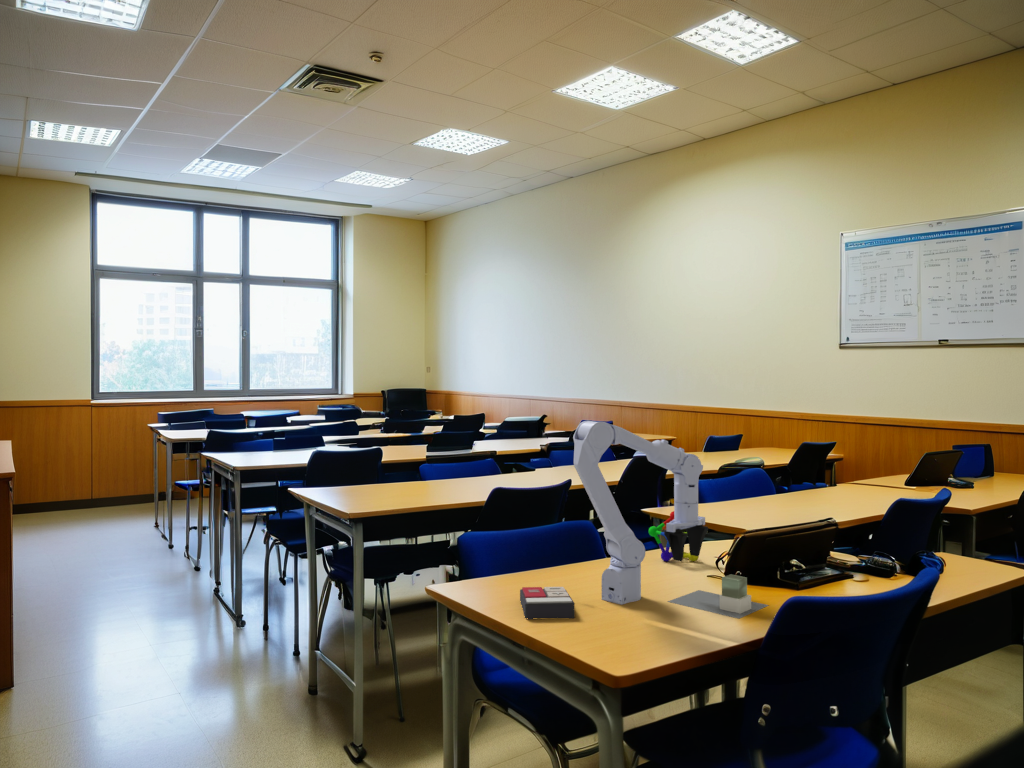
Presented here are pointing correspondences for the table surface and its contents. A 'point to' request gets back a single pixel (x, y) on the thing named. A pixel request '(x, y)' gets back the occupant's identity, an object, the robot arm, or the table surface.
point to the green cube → (734, 586)
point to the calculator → (546, 602)
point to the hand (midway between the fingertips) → (686, 557)
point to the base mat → (712, 603)
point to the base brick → (735, 603)
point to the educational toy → (665, 553)
